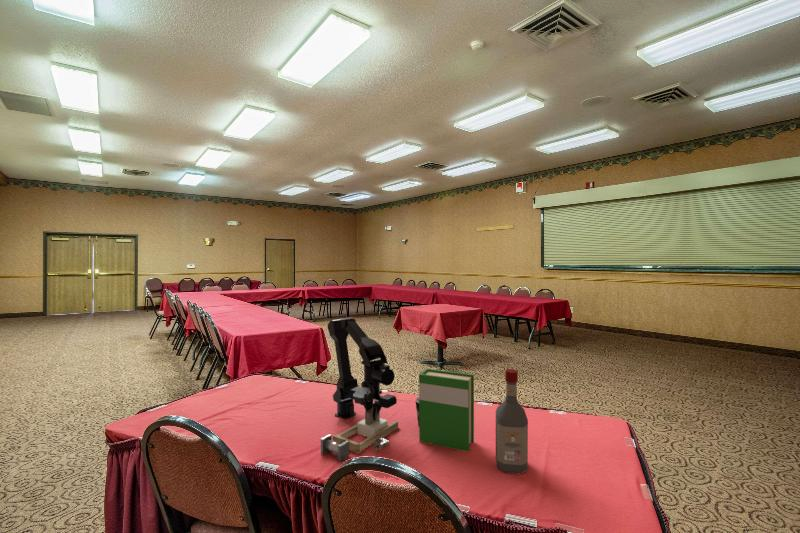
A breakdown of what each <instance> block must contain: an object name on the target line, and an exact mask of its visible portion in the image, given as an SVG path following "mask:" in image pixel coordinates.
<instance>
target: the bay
mask: <svg viewBox="0 0 800 533" xmlns="http://www.w3.org/2000/svg"><path fill="white" fill-rule="evenodd" d="M398 428H399V421H398V420H394V421H392V422H391V423H389V424H388V426H386V427H385V428H383V429H381V430H380V431H378V432H376V433H375V434H373V435H371V436H370V437H367V438H365V439H363V440H362V441H360V442H357V441H355V440H351V439H349V438H351V437H352V436H354V435H356V434H358V433H357V423H356V424H355V425H353V426H351V427H348V428H347V429H345V430H344V431H341V432H340V433H338V434H332V441H335V442H337V443H340V444H342V443H343V442H345V441H349V450H350V451H349V452H352V451H353V452H352V453H354V452H356V453H355V454H357V453H358V452H359V453H361V452H362V450H363V449H364V450H366V449H367V448H369V447H370V446H372V445H375V440H378V438H379V437H381V438H383V439H384V438H385V437H386V436H388V435H389V434H391V433H392V432H395V431H396V430H397V429H398ZM348 437H349V438H348ZM368 446H369V447H368ZM365 448H366V449H365ZM364 450H363V451H364ZM360 451H361V452H360ZM359 453H358V454H359Z"/></svg>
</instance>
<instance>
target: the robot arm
mask: <svg viewBox="0 0 800 533" xmlns="http://www.w3.org/2000/svg"><path fill="white" fill-rule="evenodd" d="M327 330H328V333H329V336H330V338H331V339H332V340H333V342H334V347H335V353H336V354H335V355H336V360H337V368H338V377H339V378H338V380H337V383H336V390H335V392H334V393H333V394H332V400H333V402H335V403H336V408H337V410H336V411H337V412H335V413H334V416H335V417H339V418H342V419H345V420H347V419H349V418H352V416H355V415H356V414H357V412H356V411H355V404H358V405H361V406H363V408H364V411H365V412H366V411H368V410H369V409H371V408H373V419H374V421H375V420H376V419H377V417H378V414H379V412H380V413H381V410H382V408H385V409H389V408H391V407H393V406H395V405H396V404H397V400H398V399H397V397H396V396H395V395H393V394H389V393H386V394H385V395H381V394H383V390H381V386H380V385H383V386H391V385H392V384H393V382H394V380H395V371H393V369H391V366H390V365H389V364H388V360H387V355H386V354H385V352H384V350H383V347H382V345H381V344H380V343H379V342H377V341H376V340H375V339H372V338H370V337H369V336H368V335H367V333H365V331H364V329H362V328H361V327H360V326H359V324H358V323H357V321H356V319H355V317H344V318H337V319H330V320H329V322H328V324H327ZM349 336H350V337H351V339H352V340H353V341H354V343H355V344H356V345H357V346H358V354H359V355H360V357H361V359H362V361H361V362H360V363H361V365H363V379H364V380H362V381H361V386H359V385H358V379H357V378H355V377H354V376H353V374H352V370H351V362H350V355H349V349H348V341H347V339H348V337H349ZM354 403H355V404H354Z"/></svg>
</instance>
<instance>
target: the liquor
mask: <svg viewBox="0 0 800 533" xmlns="http://www.w3.org/2000/svg"><path fill="white" fill-rule="evenodd" d="M504 377H505V379H504V380H505V382H506V384H505V389H506V391H505V397H504V398H505V399H504V401H502V403H500V404H499V405H498V406H497V407H496V409H495V462H496V467H497V469H498V470H500V471H501V472H503V473H506V472H508V474H517V473H521V474H523V473H525V472H527V471H528V468H529V466H528V465H529V462H528V458H529V457H528V456H529V455H528V454H529V452H528V451H529V450H528V448H529V447H528V446H529V441H528V440H529V439H528V438H529V432H528V431H529V429H528V428H529V420H528V416H527V414H526V411H525V408H524V407H523V406H522V405H521V403H520V402H519V401H518V394H517V393H518V392H517V389H518V388H517V385H518V384H517V383H518V380H519V378H518V370H517V369H512V368H508V369H505V372H504ZM524 471H525V472H524ZM522 472H523V473H522Z"/></svg>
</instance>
